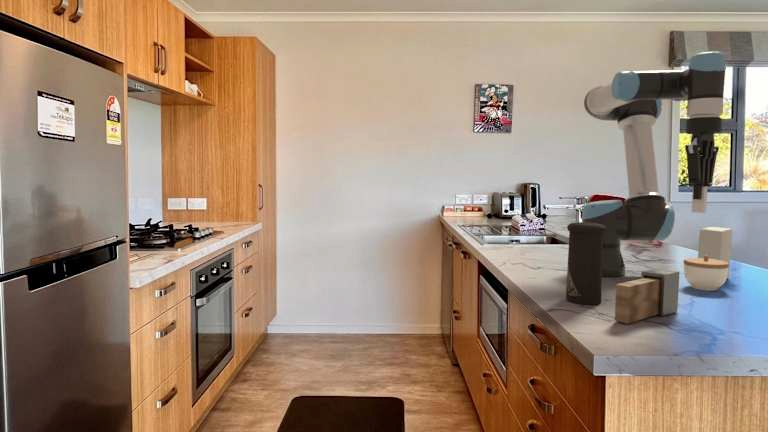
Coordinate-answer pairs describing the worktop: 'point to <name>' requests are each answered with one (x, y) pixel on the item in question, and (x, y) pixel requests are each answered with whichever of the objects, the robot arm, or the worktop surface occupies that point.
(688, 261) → the lidded jar
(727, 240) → the skincare box
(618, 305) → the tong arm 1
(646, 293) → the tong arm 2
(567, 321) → the worktop surface
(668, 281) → the grey angled block
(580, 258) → the container
